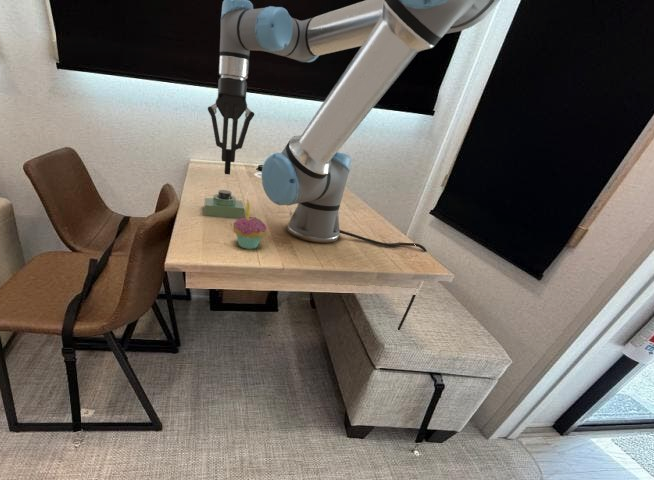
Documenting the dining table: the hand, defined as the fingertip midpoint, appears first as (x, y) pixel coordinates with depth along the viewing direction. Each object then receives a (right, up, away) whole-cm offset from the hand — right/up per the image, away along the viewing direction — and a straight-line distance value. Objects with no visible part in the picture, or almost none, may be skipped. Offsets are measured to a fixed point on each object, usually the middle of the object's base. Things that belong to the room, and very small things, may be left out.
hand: (227, 173), depth 97 cm
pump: (-1, -6, +4) cm, 8 cm away
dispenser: (-2, -10, +7) cm, 12 cm away
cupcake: (+6, -24, -13) cm, 28 cm away
